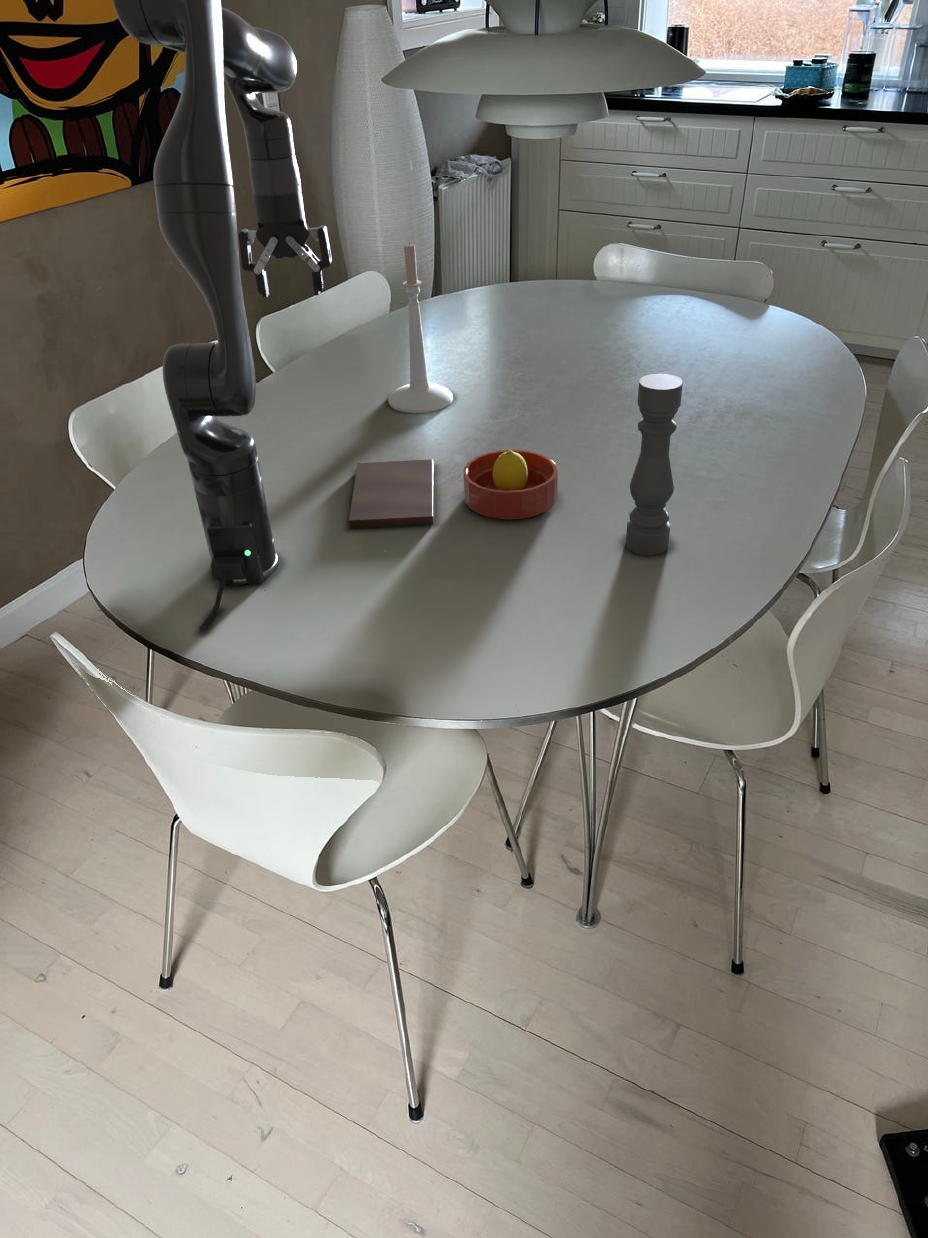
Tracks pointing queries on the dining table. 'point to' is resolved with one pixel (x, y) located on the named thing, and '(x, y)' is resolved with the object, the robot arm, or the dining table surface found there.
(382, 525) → the board
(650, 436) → the candle holder
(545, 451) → the dining table surface
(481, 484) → the bowl
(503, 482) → the lemon
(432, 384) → the candlestick
